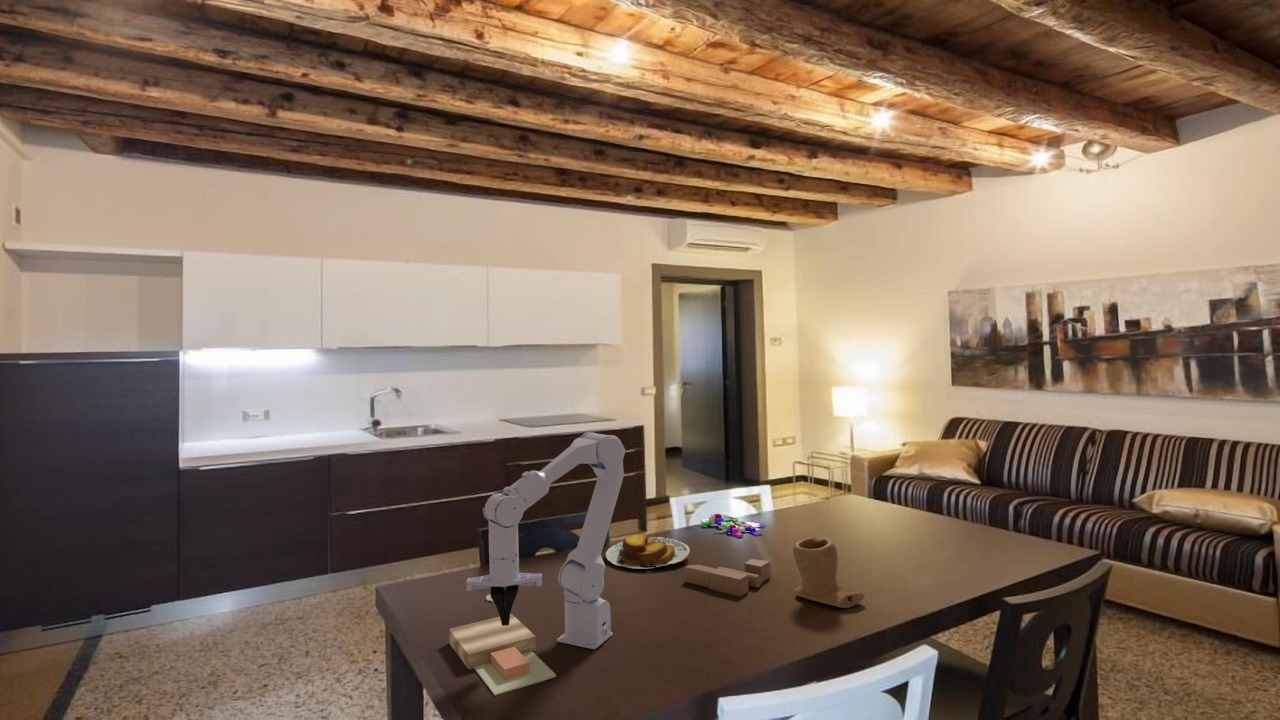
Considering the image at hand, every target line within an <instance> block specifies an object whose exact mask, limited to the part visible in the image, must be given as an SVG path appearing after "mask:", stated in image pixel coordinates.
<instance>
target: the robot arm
mask: <svg viewBox="0 0 1280 720" xmlns="http://www.w3.org/2000/svg"><path fill="white" fill-rule="evenodd" d="M625 454H626V449H625V446H624V444H623V443H622V441H621V439H620V438H619V437H617V436H616V435H614V434H612V435H611V434H601V433H596V432H592V431H588V432H584V433H583V434H582V435H581V436H580V437H577V438H575V439H574V440H573V442H571V445H570V446H568V447H567V448H566V449H565V450H563V451H562V452H561V453H560V454H559V455H558V456H557V457H556V456H555V458H554V459H553V460H552V461H551V462H549V463H548V464H547V465H545V466H544V467H543V468H542V469H541V470H540V471H538V470H530V471H528V470H527V471H524V472H523V473H522V474H521V476H522V477H521V478H519V479H518V480H516V481H515V482H514V483H513V484H511V485H510V486H505V487H504V488H503V491H502V492H499V493H497V492H496V493H494V494H493V495H491V496H489V498H488V499H487V501H486V502H485V505H484V507H483V508H482V513H483V516H484V518H485V519H487V521H488V554H489V557H488V559H489V561H488V562H489V564H488V565H489V574H486V575H481V576H476V577H475V576H474V577H468V578H467V579H466V592H471V591H473V590H484V589H490V593H489V594H490V596H491V598H492V600H493V601H494V602H493V603H494V605H495V608H496V610H497V611H498V612H497V613H498V615H499V617H500V619H501V624H502V626H505V625H509V622H510V614H512V613H511V612H512V609H513V605H514V603H515V599H516V598H517V595H518V593H519V587H530V586H531V587H532V586H535V587H542V585H543V579H542V576H543V574H542V572H541V573H538V572H537V573H533V572H532V573H531V572H529V573H528V572H520V566H519V565H520V557H519V555H520V553H519V523H520V521H521V520H522V518H523V516H524V512H526V510H528V509H529V508H530V507H532V506H533V505H534V504H535V503H537V502H538V501H539V500H541V499H542V498H543V497H545V495H547V494H549V492H550V485H551V484H552V483H553V482H555V481H557V480H558V479H560V478H561V477H563V476H564V475H565V474H567V473H569V472H570V471H571V470H573V469H574V468H576V467H577V466H579V465H580V464H582V465H584V464H588V465H589V467H591V469H593V472H594V474H595V475H596V477H597V478H596V483H595V486H594V489H593V493H592V496H591V499H590V503H589V506H588V510H587V513H586V516H585V519H584V523H583V526H582V528H581V533H580V535H579V540H578V542H577V546H576V548H575V549H573V550H572V551H571V552H569V553H568V555H567V557H566V560H565V562H564V563H563V565H562V566H561V568H560V569H559V571H558V576H557V577H558V578H557V579H558V583H559V585H560V586H561V587H562V588H563V595H564V628H565V629H564V634H561V636H560V637H558V638H557V639H556V641H557V642H558V643H562V644H568V645H573V646H577V647H579V648H580V647H581V648H587V649H590V650H597V649H598V647H600V646H601V645H602V644H604V642H605V641H607V640H608V639H609V638H610V637H612V636H613V632H612V627H611V626H612V625H611V623H612V621H611V620H612V619H611V618H612V617H611V616H612V615H611V605H610V603H609V601H608V600H605V599H603V598H602V597H600V595H601V594H602V593H603V592H604V591H603V590H604V587H605V577H604V575H605V571H606V565H605V562H604V559H603V557H602V552H603V549H604V545H605V542H606V539H607V535H608V531H609V529H610V525H611V522H612V517H613V515H614V511H615V507H616V505H617V500H618V497H619V493H620V490H621V487H622V484H623V481H624V475H625V472H624V457H625Z"/></svg>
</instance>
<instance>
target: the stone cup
mask: <svg viewBox="0 0 1280 720" xmlns="http://www.w3.org/2000/svg"><path fill="white" fill-rule="evenodd" d="M793 557H794V562H795V564H796V567H797V569H798V571H799V573H800V576H801V579H802V584H801V585H799V586H797V587H796V588H795V590H794V593H795V594H796V596H798V597H801V598H803V599H807V600H810V601H814V602H817V603H821V604H825V605H828V606H833V607H837V608H843V609H848V608H849V609H850V608H852V607H854V606H857V604H859V603H861V602H862V600H864V599H865V593H863V592H860V591H855V590H852V589H849V588H846V587H843V586H839V584H838V583H837V572H838V571H837V570H838V564H839V563H838V561H839V557H838V550H837V546H836V545H835V543H834V542H833V541H832V540H831V539H829V538H828V537H821V538H817V537H808V538H806V537H805V538H804V539H801V540H799V541H796V543H795V544H794V546H793Z"/></svg>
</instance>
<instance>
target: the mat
mask: <svg viewBox="0 0 1280 720" xmlns="http://www.w3.org/2000/svg"><path fill="white" fill-rule="evenodd" d="M522 655H523V656H524V657H525V658H526V659H527V660H528V661H529V662H530V673H527V674H524V675H521V676H517V677H514V678H511V679H507V680H504V679H503V678H502V677H501V675H500V674H499V673H498V672H497V670H496V669H495V668H494V667H493V666H492V664H491V663H487V664H483V665H480V666H476V667H474V669H473V670H475V671H476V673H477V674H478V675H479V677H480V678H481V679H482V681H483V683H484V684H485V685H486V686H487V687H488V688H489V690H490V691H491V693H492V694H493V696H494V697H495V696H499V695H502V694H505V693H508V692H512V691H515V690H518V689H521V688H525V687H528V686H531V685H535V684H538V683H541V682H544V681H547V680H550V679H553V678H556V677H557V674H556V673H555V672H553V670H552V669H551V668H550V667H549V666H548V665H547V664H546V663H545V662H544V661H543V660H542V659H541V658H540V657H539V656H538V655H536V654H535V652H532V651H529V652H526V653H522Z"/></svg>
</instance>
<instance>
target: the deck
mask: <svg viewBox="0 0 1280 720" xmlns="http://www.w3.org/2000/svg"><path fill="white" fill-rule="evenodd" d="M448 643H449V645H450V646H451V648H452V649H453V650H454V652H455V653H456V654H457V656H458V657H459V659H460V660H461V661H462V663H463V664H464V665H465V667H466V668H467V669H468V670H469V671H470V670H475V669H474V667H476V666H480V665H483V664H487V663H490V653H492V652H496V651H500V650H503V649H507V648H511V647H515V648H516V649H517V650H518V651H519V652H520V653H521V654H522V653H526V652H529V651H532V652H533V651H534V652H537V637H536V635H535V634H534V633H533V632H532V631H531V630H529V629H528V628H527V627H526V626H525V625H524V624H523V623H522V622H521V621H520V620H519V619H518V618H517V617H516V616H515V615H514V614H513V613H510V622H509V625H505V626H502V624H501V619H500V616H498V617H497V616H496V617H491V618H489V619H485V620H480V621H476V622H472V623H469V624H464V625H463V624H462V625H460V626H455V627H452V628H448ZM534 652H533V653H534Z"/></svg>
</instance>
